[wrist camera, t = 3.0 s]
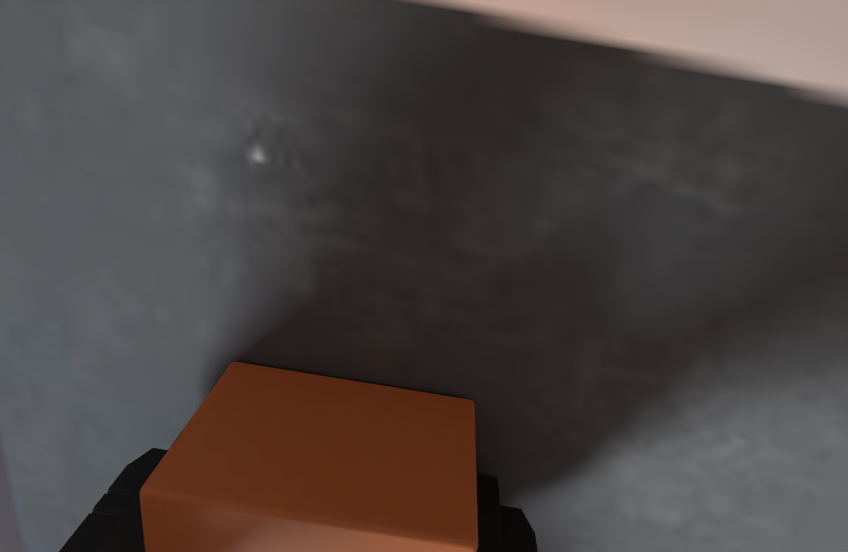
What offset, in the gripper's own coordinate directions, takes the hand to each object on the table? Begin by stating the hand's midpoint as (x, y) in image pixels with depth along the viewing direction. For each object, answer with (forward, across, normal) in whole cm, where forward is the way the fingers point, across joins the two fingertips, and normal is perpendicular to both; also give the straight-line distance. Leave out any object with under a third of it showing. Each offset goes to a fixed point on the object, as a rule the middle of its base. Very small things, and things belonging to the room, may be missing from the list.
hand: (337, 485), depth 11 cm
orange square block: (0, 0, 0) cm, 0 cm away
